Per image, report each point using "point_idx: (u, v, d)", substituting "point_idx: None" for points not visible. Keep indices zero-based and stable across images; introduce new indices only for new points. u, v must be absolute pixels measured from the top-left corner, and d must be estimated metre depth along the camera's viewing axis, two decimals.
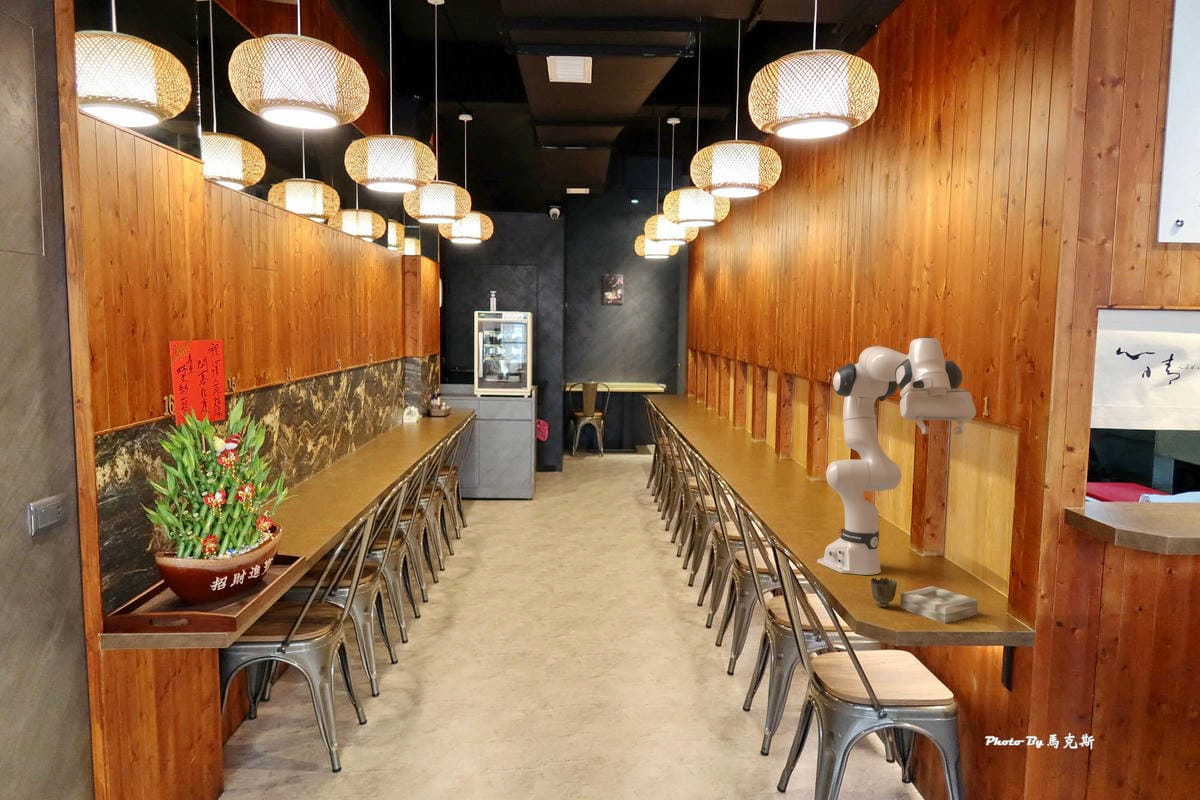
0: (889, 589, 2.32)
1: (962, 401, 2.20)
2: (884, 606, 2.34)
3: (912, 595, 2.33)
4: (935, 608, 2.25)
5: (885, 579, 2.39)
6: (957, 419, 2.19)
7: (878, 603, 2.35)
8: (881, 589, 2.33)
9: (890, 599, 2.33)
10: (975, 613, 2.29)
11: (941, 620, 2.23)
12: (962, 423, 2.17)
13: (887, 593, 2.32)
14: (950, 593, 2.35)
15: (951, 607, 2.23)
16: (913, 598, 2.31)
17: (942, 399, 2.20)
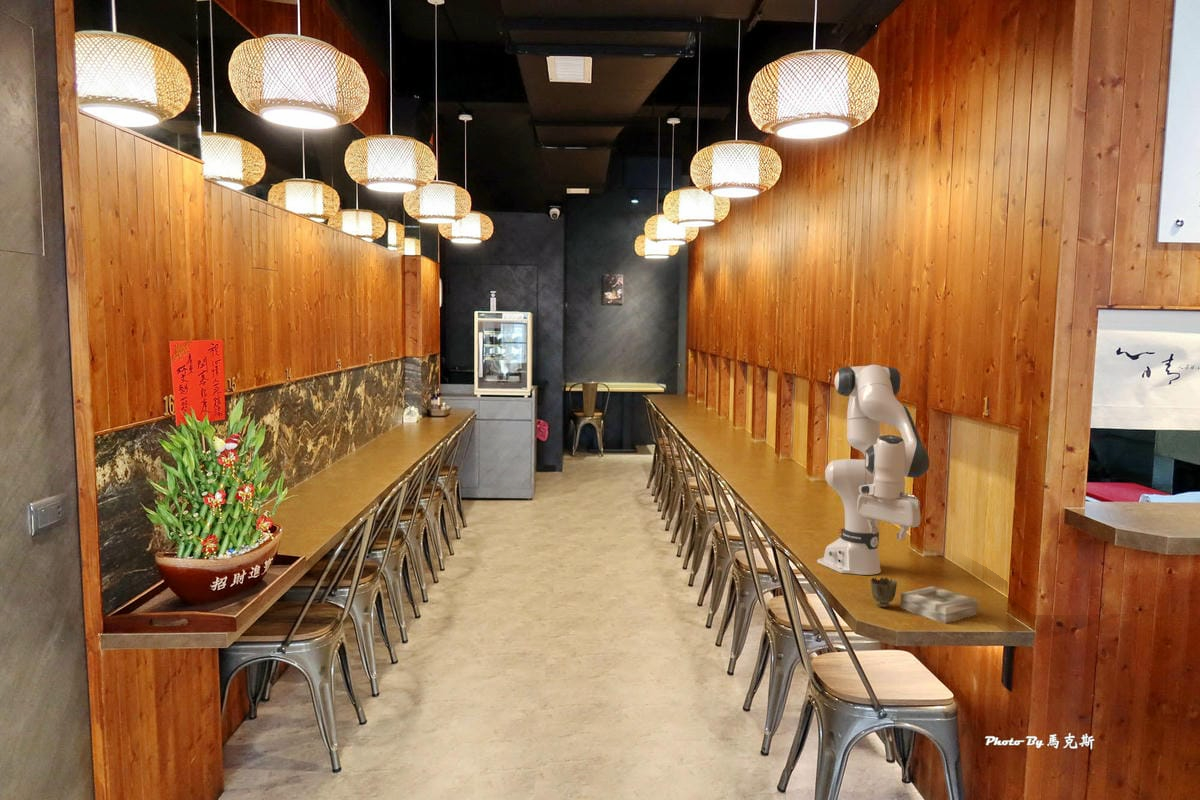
0: (889, 589, 2.32)
1: (904, 510, 2.27)
2: (884, 606, 2.34)
3: (912, 595, 2.33)
4: (935, 608, 2.25)
5: (885, 579, 2.39)
6: None
7: (878, 603, 2.35)
8: (881, 589, 2.33)
9: (890, 599, 2.33)
10: (975, 613, 2.29)
11: (941, 620, 2.23)
12: (901, 531, 2.29)
13: (887, 593, 2.32)
14: (950, 593, 2.35)
15: (951, 607, 2.23)
16: (913, 598, 2.31)
17: (888, 504, 2.32)
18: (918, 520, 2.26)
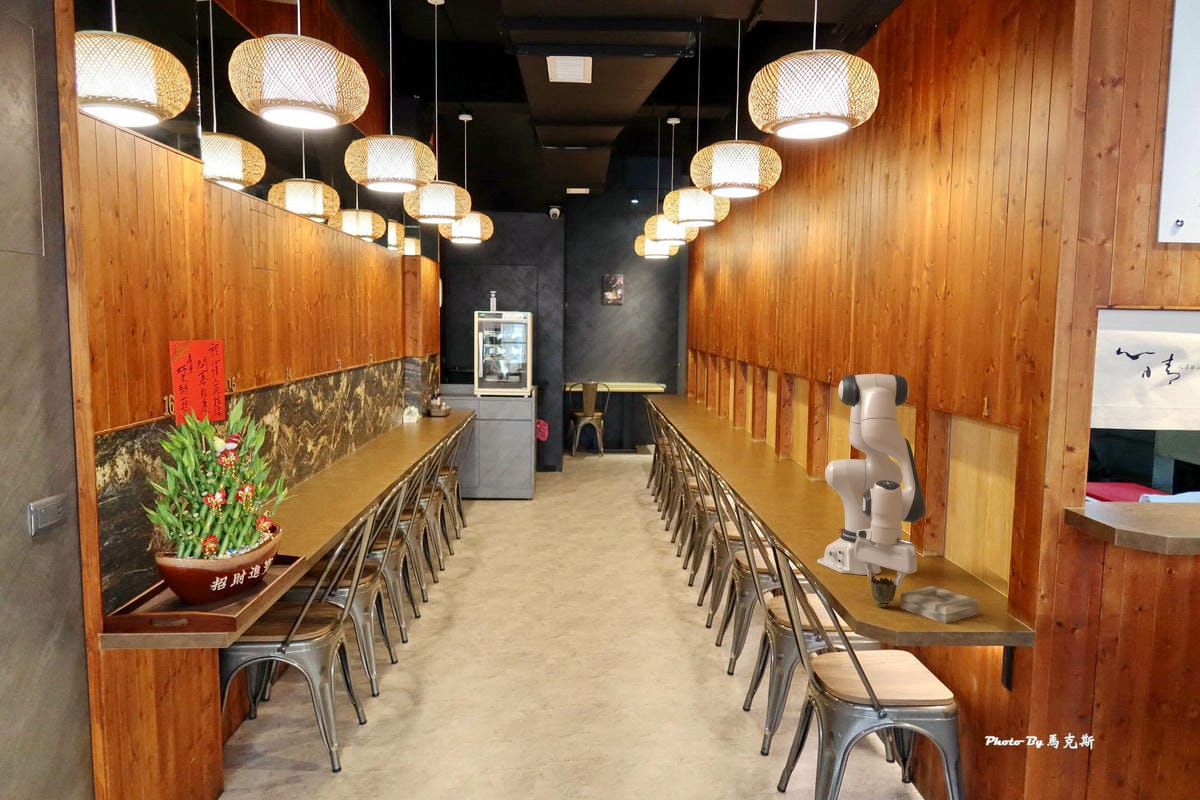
0: (889, 589, 2.32)
1: (901, 556, 2.28)
2: (884, 606, 2.34)
3: (912, 595, 2.33)
4: (935, 608, 2.25)
5: (884, 579, 2.39)
6: None
7: (878, 603, 2.35)
8: (881, 589, 2.33)
9: (890, 599, 2.33)
10: (975, 613, 2.29)
11: (941, 620, 2.23)
12: (898, 577, 2.30)
13: (887, 593, 2.32)
14: (950, 593, 2.35)
15: (951, 607, 2.23)
16: (913, 598, 2.31)
17: (884, 550, 2.33)
18: (915, 566, 2.27)
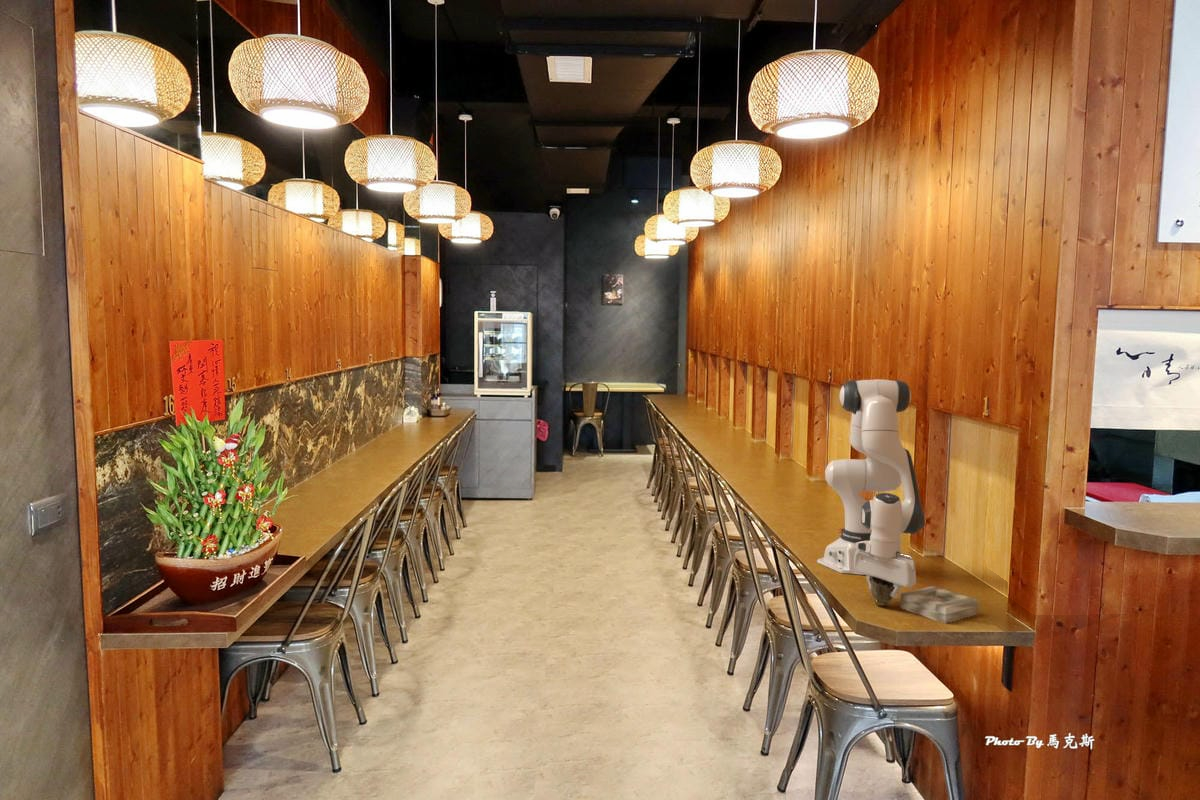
0: (889, 590, 2.33)
1: (900, 570, 2.29)
2: (882, 605, 2.35)
3: (912, 595, 2.33)
4: (935, 608, 2.25)
5: None
6: None
7: (876, 601, 2.36)
8: (881, 589, 2.33)
9: (889, 599, 2.34)
10: (975, 613, 2.30)
11: (941, 620, 2.23)
12: (894, 589, 2.31)
13: (887, 593, 2.33)
14: (950, 593, 2.35)
15: (951, 607, 2.23)
16: (913, 598, 2.31)
17: (884, 563, 2.34)
18: (914, 580, 2.27)
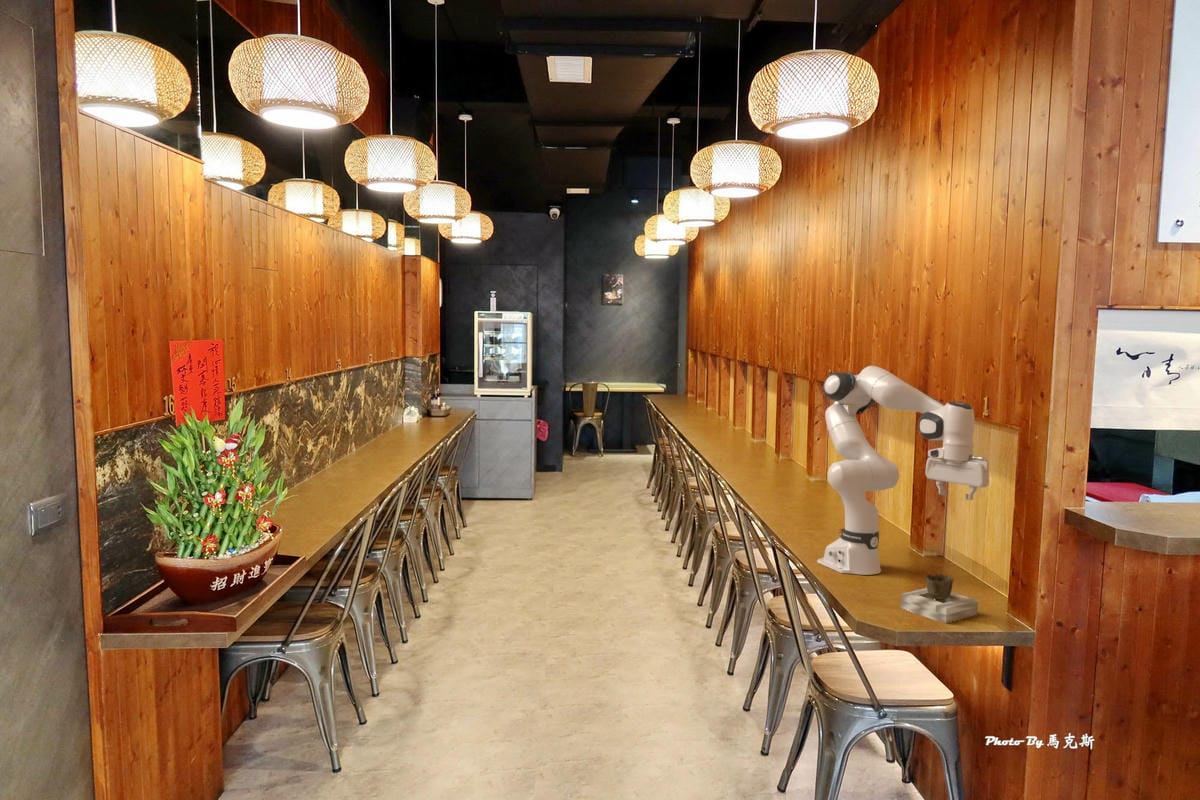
0: (946, 585, 2.28)
1: (973, 471, 2.41)
2: None
3: (912, 596, 2.33)
4: (936, 609, 2.25)
5: (939, 575, 2.35)
6: None
7: None
8: (938, 586, 2.29)
9: (947, 596, 2.29)
10: (975, 613, 2.30)
11: (942, 621, 2.23)
12: (970, 492, 2.42)
13: (944, 590, 2.29)
14: (950, 594, 2.35)
15: (952, 608, 2.23)
16: (913, 599, 2.31)
17: (957, 467, 2.46)
18: (987, 481, 2.39)
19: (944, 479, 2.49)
